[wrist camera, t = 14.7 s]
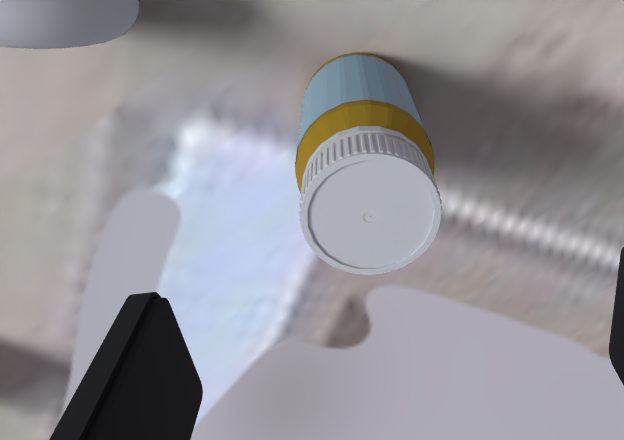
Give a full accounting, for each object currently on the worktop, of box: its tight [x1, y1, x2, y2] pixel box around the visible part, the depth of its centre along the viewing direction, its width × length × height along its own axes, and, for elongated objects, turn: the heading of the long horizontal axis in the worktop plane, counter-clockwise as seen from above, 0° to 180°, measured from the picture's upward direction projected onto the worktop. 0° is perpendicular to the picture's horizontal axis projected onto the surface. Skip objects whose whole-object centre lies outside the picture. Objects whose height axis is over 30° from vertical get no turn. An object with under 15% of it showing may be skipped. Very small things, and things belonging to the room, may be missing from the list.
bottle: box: [295, 53, 442, 275], centre depth 30 cm, size 7×7×15 cm
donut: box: [0, 0, 139, 49], centre depth 29 cm, size 10×4×10 cm, turn 86°
